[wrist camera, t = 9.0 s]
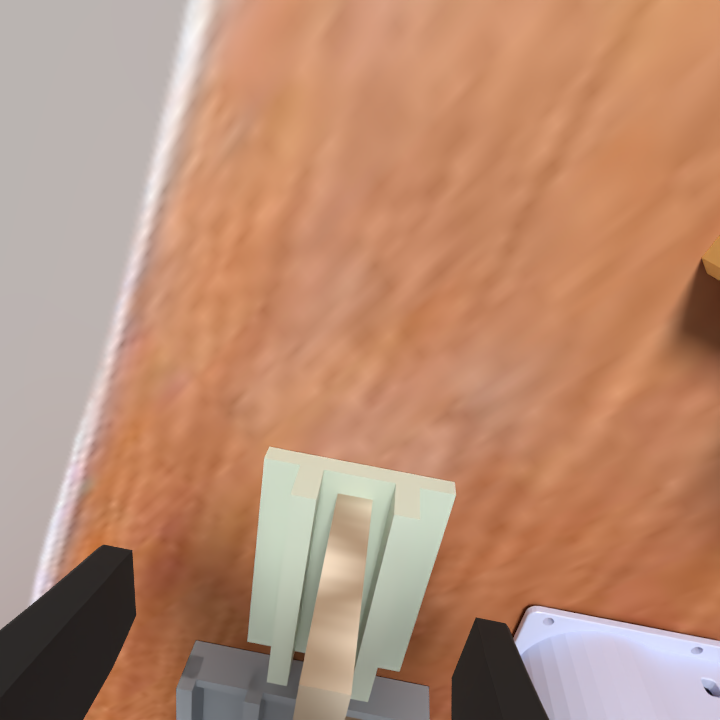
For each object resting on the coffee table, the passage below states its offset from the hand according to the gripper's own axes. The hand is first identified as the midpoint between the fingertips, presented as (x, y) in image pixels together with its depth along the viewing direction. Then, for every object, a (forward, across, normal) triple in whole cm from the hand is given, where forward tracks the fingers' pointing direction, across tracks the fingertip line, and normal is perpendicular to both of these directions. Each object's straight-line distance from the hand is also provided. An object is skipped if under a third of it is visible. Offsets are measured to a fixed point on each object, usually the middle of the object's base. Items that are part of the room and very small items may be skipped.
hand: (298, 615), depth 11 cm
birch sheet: (+10, -1, +10) cm, 14 cm away
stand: (+10, -1, +10) cm, 14 cm away
